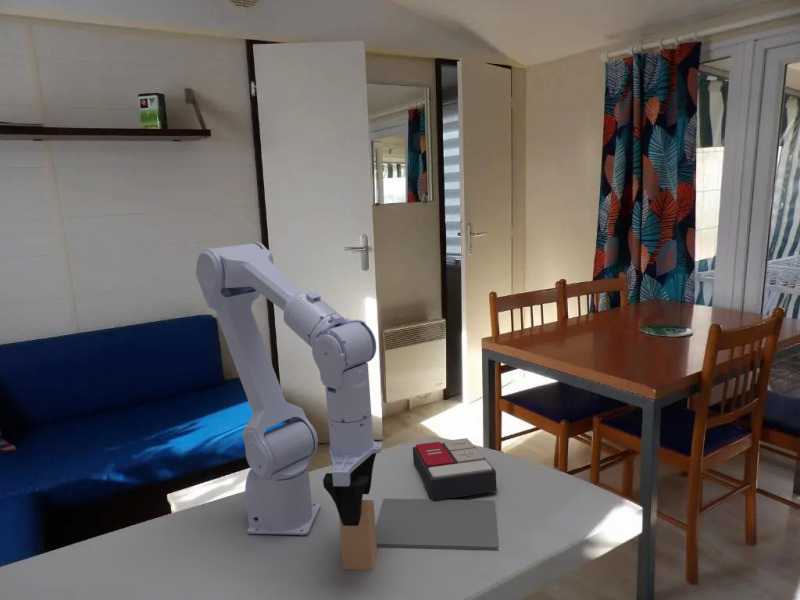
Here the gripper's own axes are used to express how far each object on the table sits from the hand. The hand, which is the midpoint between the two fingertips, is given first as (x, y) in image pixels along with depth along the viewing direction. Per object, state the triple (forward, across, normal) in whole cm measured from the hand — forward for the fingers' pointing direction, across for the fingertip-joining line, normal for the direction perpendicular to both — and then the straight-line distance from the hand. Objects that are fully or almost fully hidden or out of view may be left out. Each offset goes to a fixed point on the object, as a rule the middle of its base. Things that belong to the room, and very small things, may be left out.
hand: (356, 507), depth 79 cm
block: (+8, 0, 0) cm, 8 cm away
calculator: (+8, +23, -12) cm, 27 cm away
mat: (+8, +9, -10) cm, 16 cm away
